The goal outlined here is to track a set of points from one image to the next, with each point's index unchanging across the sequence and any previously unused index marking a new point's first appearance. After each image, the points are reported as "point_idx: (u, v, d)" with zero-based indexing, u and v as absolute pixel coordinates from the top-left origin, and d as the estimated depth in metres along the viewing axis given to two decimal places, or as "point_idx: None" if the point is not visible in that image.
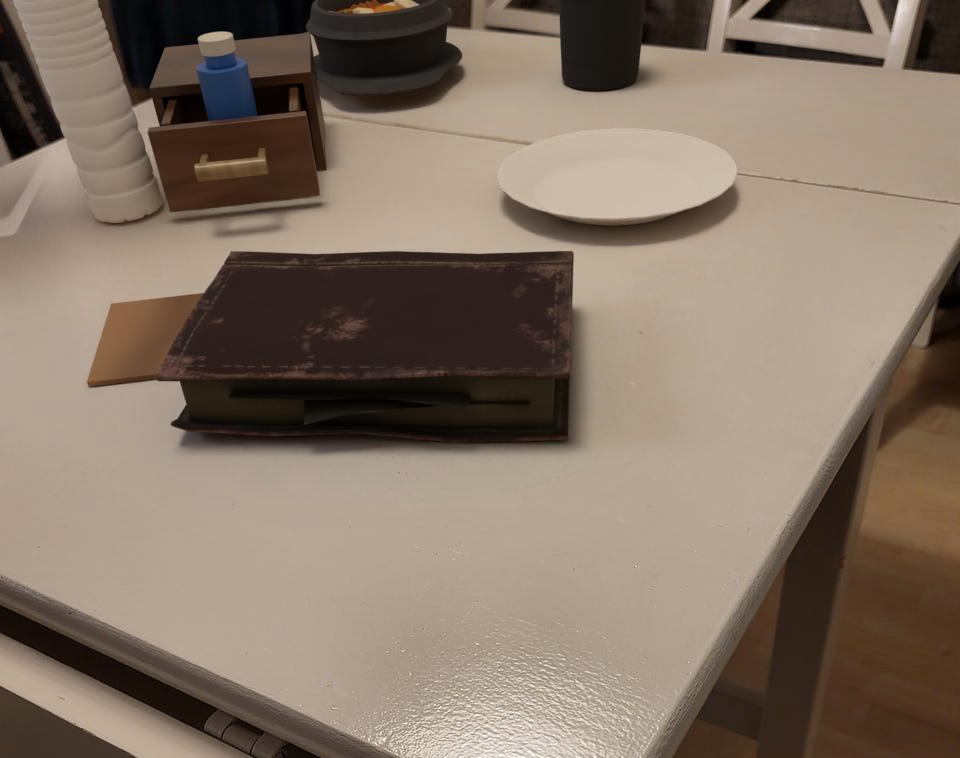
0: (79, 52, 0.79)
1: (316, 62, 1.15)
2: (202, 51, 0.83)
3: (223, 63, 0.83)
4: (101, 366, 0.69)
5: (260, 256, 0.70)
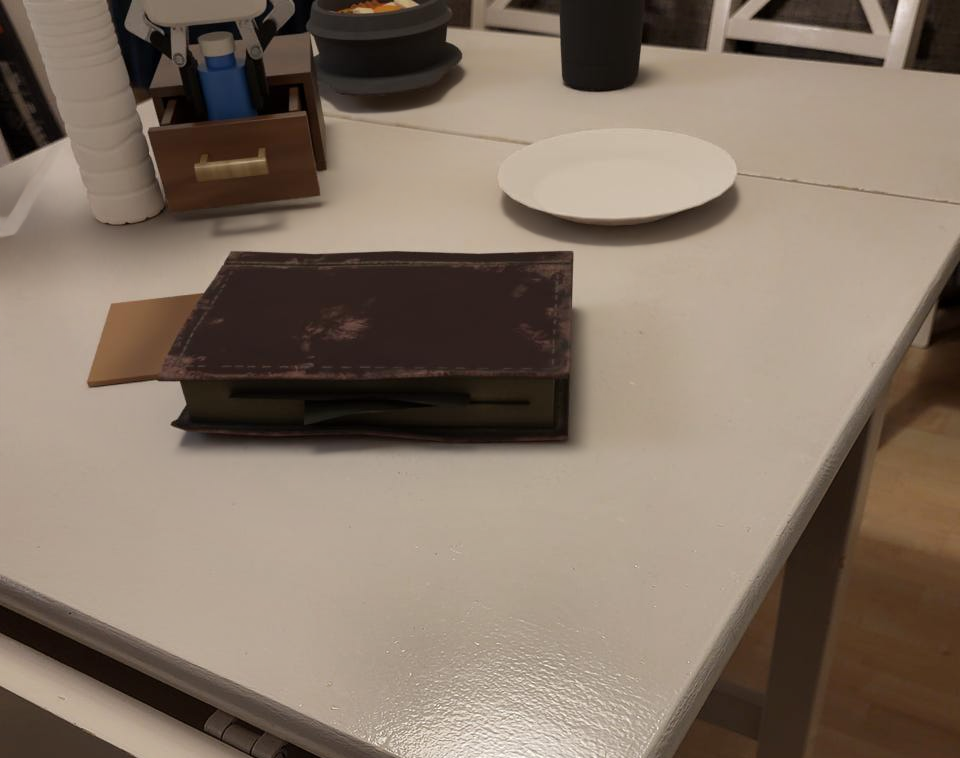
0: (87, 55, 0.79)
1: (316, 62, 1.15)
2: (202, 51, 0.83)
3: (223, 63, 0.83)
4: (101, 366, 0.69)
5: (260, 256, 0.70)
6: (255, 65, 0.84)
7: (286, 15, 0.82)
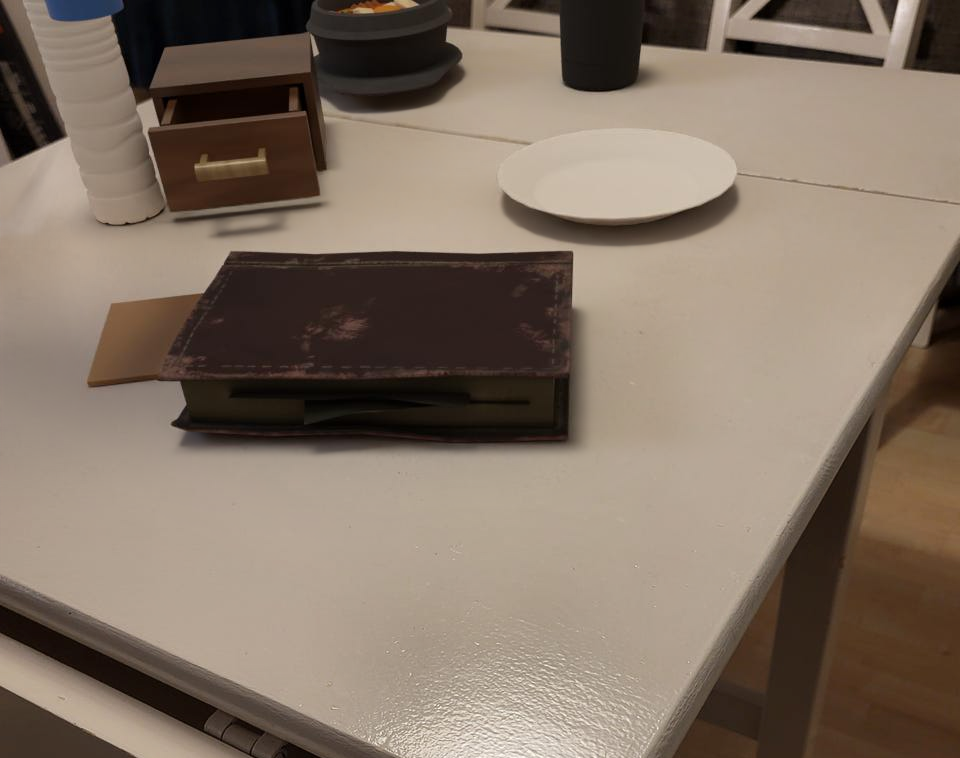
0: (87, 55, 0.79)
1: (316, 62, 1.15)
2: None
3: None
4: (101, 366, 0.69)
5: (260, 256, 0.70)
6: None
7: None
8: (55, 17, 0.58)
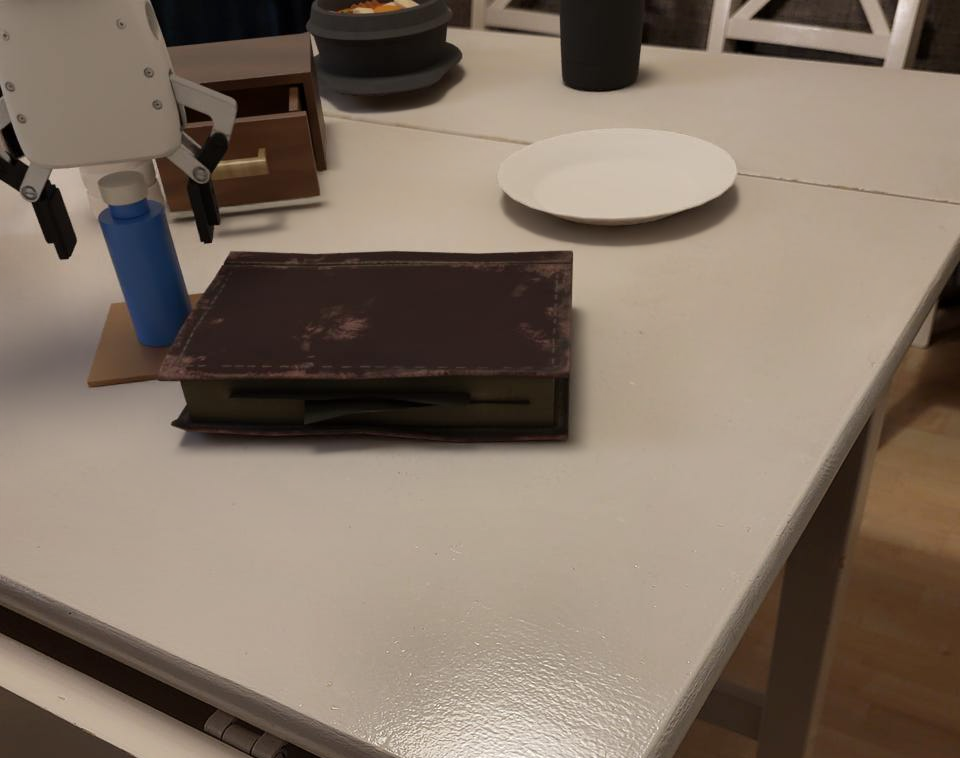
0: None
1: (316, 62, 1.15)
2: (103, 198, 0.65)
3: (131, 212, 0.65)
4: (101, 366, 0.69)
5: (260, 256, 0.70)
6: (201, 190, 0.65)
7: (230, 119, 0.62)
8: (143, 342, 0.71)
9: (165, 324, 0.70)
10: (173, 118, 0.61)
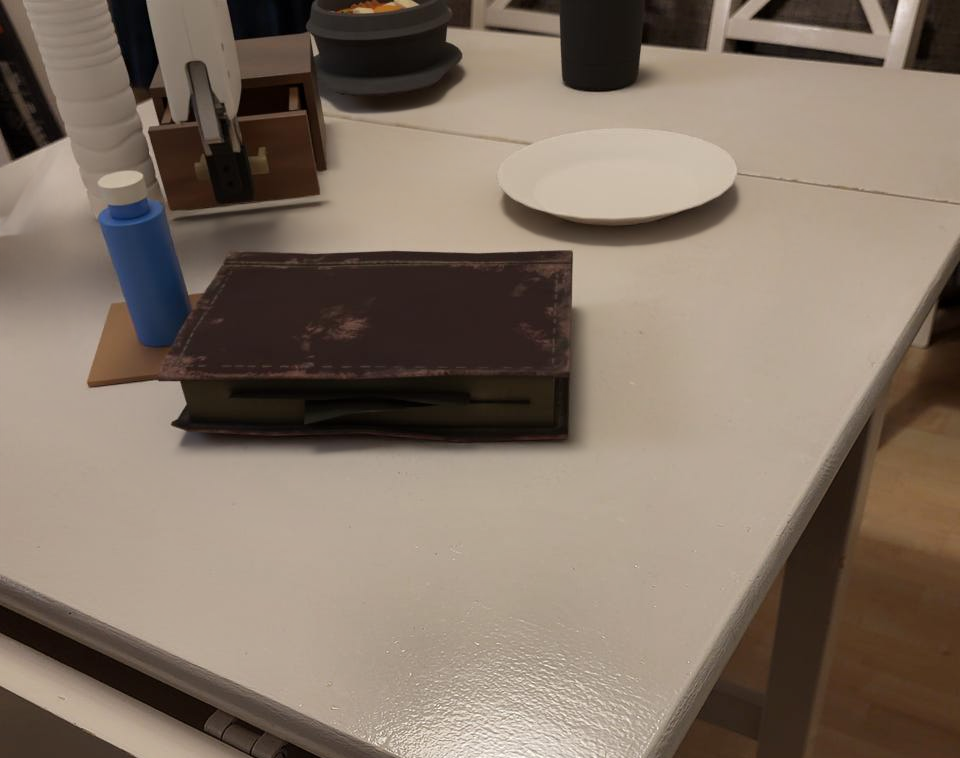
0: (87, 55, 0.79)
1: (316, 62, 1.15)
2: (103, 198, 0.65)
3: (131, 212, 0.65)
4: (101, 366, 0.69)
5: (259, 256, 0.70)
6: None
7: None
8: (143, 342, 0.71)
9: (165, 324, 0.70)
10: None
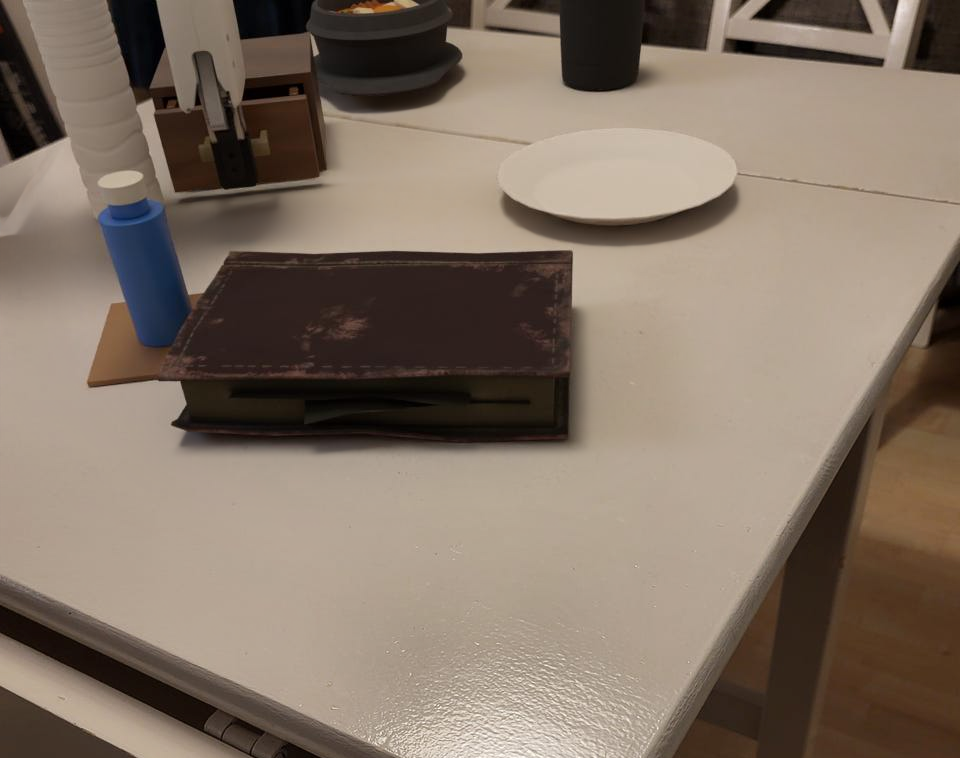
0: (87, 55, 0.79)
1: (316, 62, 1.15)
2: (103, 198, 0.65)
3: (131, 212, 0.65)
4: (101, 366, 0.69)
5: (259, 256, 0.70)
6: None
7: None
8: (143, 342, 0.71)
9: (165, 324, 0.70)
10: None
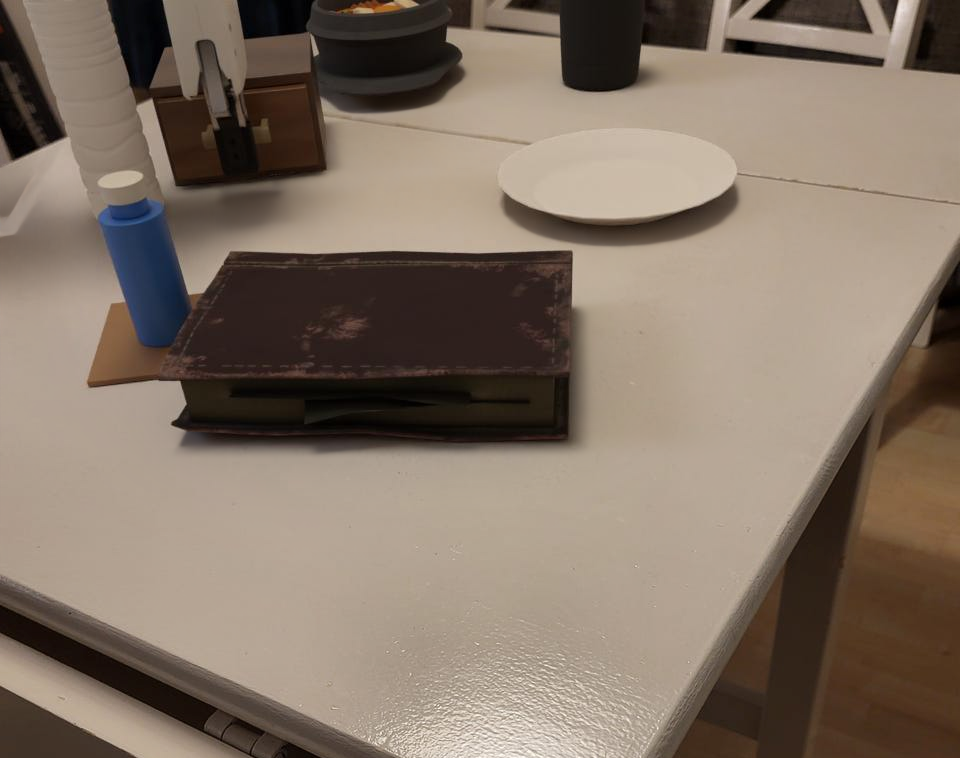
0: (87, 55, 0.79)
1: (316, 62, 1.15)
2: (103, 198, 0.65)
3: (131, 212, 0.65)
4: (101, 366, 0.69)
5: (259, 256, 0.70)
6: None
7: None
8: (143, 342, 0.71)
9: (165, 324, 0.70)
10: None
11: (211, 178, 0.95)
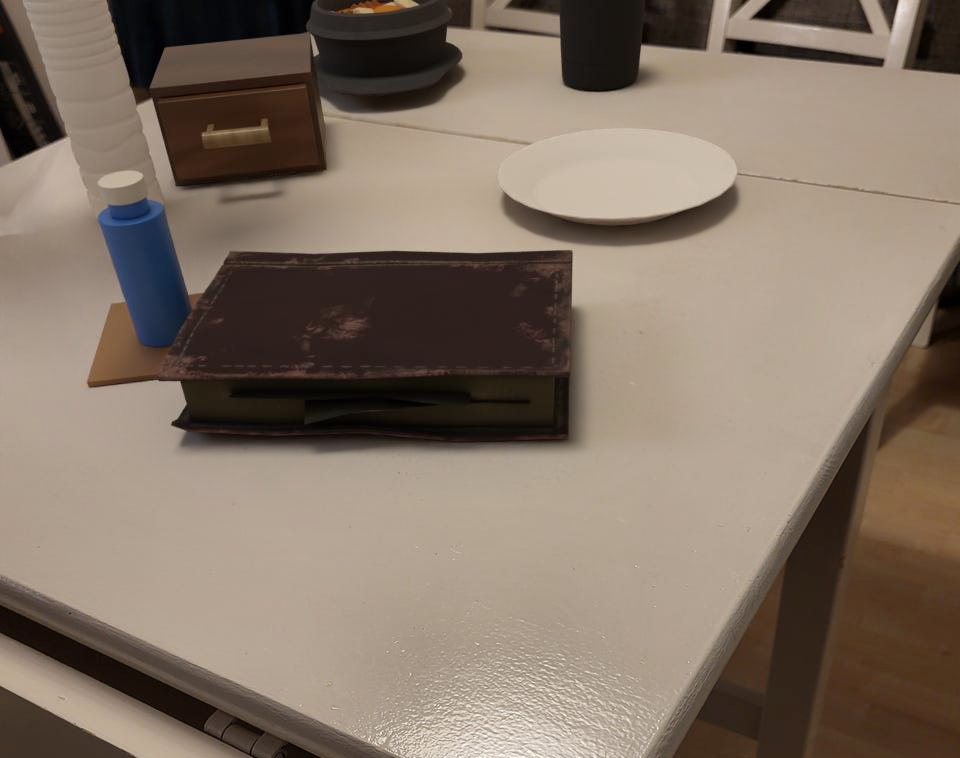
0: (87, 55, 0.79)
1: (316, 62, 1.15)
2: (103, 198, 0.65)
3: (131, 212, 0.65)
4: (101, 366, 0.69)
5: (259, 256, 0.70)
6: None
7: None
8: (143, 342, 0.71)
9: (165, 324, 0.70)
10: None
11: (211, 178, 0.95)
